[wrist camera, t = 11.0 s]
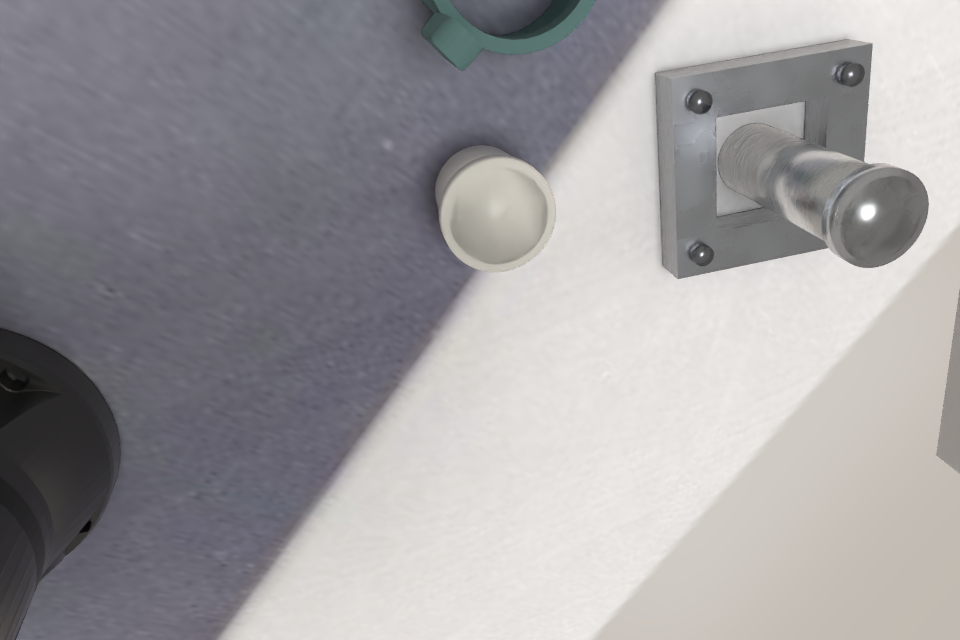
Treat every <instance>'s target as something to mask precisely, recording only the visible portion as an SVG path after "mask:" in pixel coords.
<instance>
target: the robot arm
mask: <svg viewBox="0 0 960 640" xmlns="http://www.w3.org/2000/svg"><path fill="white" fill-rule="evenodd" d="M937 456H938V457H939V458H941V459H942V460H943V461H944V462H946V463H947V464H948V465H950V466H951V467H952V468H953V469H954V470H956V471H957V472H958V473H959V474H960V291H959V298H958V306H957V312H956V320H955V326H954V333H953V340H952V348H951V355H950V362H949V369H948V376H947V384H946V390H945V398H944V404H943V412H942V419H941V426H940V433H939V440H938V447H937ZM119 464H120V442H119V435H118V431H117V427H116V424H115V421H114V418H113V416H112V414H111V411H110V409H109V407H108V405H107V404H106V402H105V400H104V399H103V397H102V396H101V394H100V393H99V391H98V390H97V389H96V387H95V386H94V385H93V384H92V383H91V382H90V380H89V379H88V378H87V377H86V376H85V375H84V374H83V373H82V372H81V371H80V370H78V369H77V368H76V367H75V366H74V365H73V364H71V363H70V362H69V361H67V360H66V359H65V358H63V357H62V356H60V355H59V354H57V353H56V352H54V351H52V350H51V349H49V348H47V347H45V346H43V345H41V344H39V343H37V342H35V341H33V340H31V339H28V338H26V337H23V336H21V335H18V334H15V333H12V332H9V331H5V330H1V329H0V640H16V638H17V635H18V633H19V630H20V628H21V625H22V623H23V620H24V617H25V615H26V612H27V610H28V607H29V605H30V602H31V600H32V597H33V594H34V592H35V590H36V587H37V585H38V583H39V582H40V581H41V580H42V579H43V578H44V577H45V576H46V575H47V574H48V573H49V572H50V571H51V570H52V569H53V568H54V567H55V566H57V565H58V564H59V563H60V562H61V561H62V559H63V558H64V557H65V556H66V555H67V554H68V553H70V552H71V551H72V550H73V549H74V548H75V547H76V546H78V545H79V544H80V543H81V542H82V541H83V540H84V539H85V538H86V537H87V535H88V534H89V533H90V532H91V531H92V529H93V528H94V527H95V525H96V524H97V522H98V521H99V519H100V517H101V516H102V514H103V512H104V510H105V508H106V506H107V503H108V501H109V498H110V495H111V492H112V489H113V487H114V484H115V481H116V478H117V474H118V470H119Z"/></svg>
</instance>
